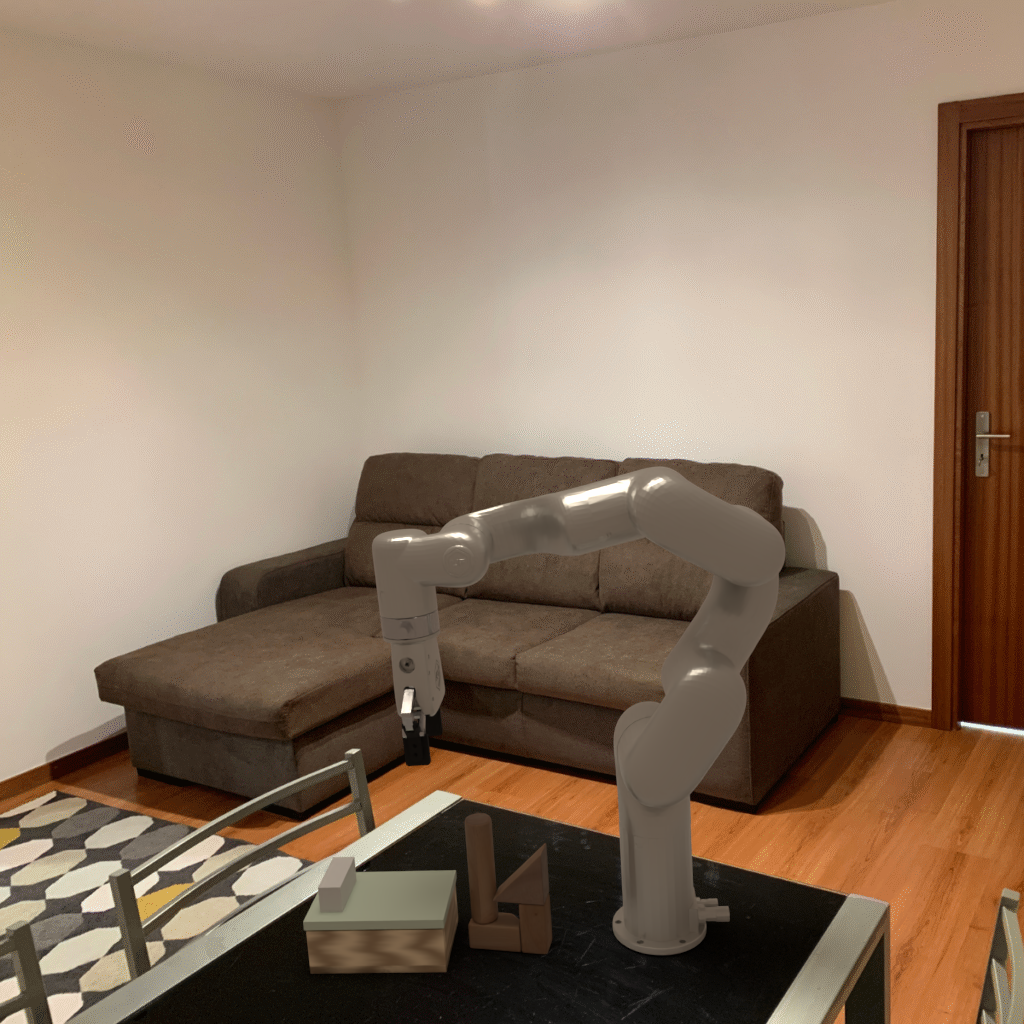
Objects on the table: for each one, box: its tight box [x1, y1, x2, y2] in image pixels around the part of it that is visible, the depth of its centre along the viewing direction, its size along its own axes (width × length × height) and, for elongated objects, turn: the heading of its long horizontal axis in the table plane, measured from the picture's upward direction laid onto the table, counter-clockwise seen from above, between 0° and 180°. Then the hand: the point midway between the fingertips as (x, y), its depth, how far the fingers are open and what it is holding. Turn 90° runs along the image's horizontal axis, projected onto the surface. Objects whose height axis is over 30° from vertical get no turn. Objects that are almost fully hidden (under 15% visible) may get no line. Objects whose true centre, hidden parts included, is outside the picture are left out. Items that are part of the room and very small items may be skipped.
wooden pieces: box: [464, 812, 553, 955], centre depth 135 cm, size 4×11×18 cm, turn 77°
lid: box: [302, 856, 458, 931], centre depth 137 cm, size 18×12×5 cm
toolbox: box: [305, 883, 459, 975], centre depth 137 cm, size 18×12×6 cm, turn 85°
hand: (425, 749), depth 134 cm, fingers open, 9 cm apart
